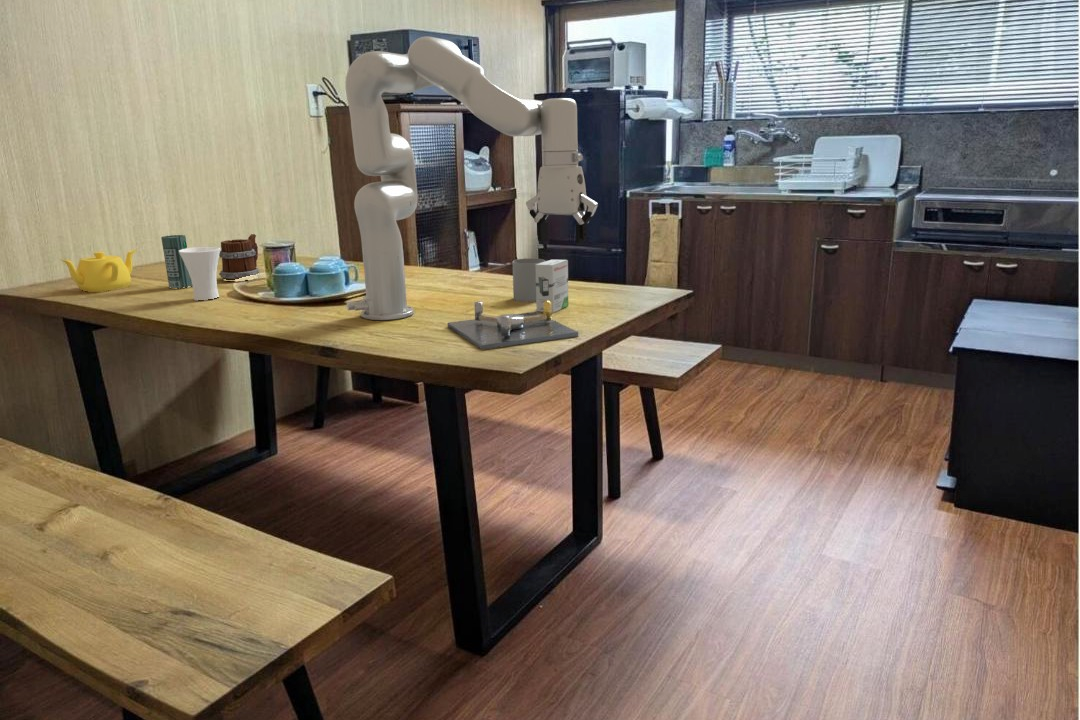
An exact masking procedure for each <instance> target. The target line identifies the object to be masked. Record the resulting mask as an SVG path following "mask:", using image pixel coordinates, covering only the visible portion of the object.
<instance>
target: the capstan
mask: <svg viewBox="0 0 1080 720" xmlns="http://www.w3.org/2000/svg"><path fill="white" fill-rule="evenodd" d="M473 305H474V319H475V320H477V321H481V320H484V321H491V322H497V327H498V328H501V335H502V336H509V335H510V331H511V329H518V328H522V327H524V323H526V322H534V321H542V320H545V321H550V320H553V318H552V314H553V313H552V310H551V302H550V301H545V302H543V311H544V312H543V314H541V315H534V316H526V317H524V316H523V315H520V314H521V313H506V314H505V313H503V314H500V315H491V314H484V311H483V310H484V309H483V307H484V306H483V301H474V304H473Z"/></svg>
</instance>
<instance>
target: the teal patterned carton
mask: <svg viewBox="0 0 1080 720" xmlns="http://www.w3.org/2000/svg"><path fill="white" fill-rule="evenodd" d="M161 244H162V251H163V256H164V262H165V269H166V276H167V282H168V283H167V284H168V288H169V287H171V288H183V287H188V286H192V281H191V278H190V275H189V272H188V270H187V268H186V265H185V263H184V261H183V259H182V257H181V255H180V253H179V250H182V249H186V248H188V245H187V238H186V235H184V234H172V235H165V236H164V235H163V236H161ZM192 287H193V286H192Z"/></svg>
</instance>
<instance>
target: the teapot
mask: <svg viewBox="0 0 1080 720" xmlns="http://www.w3.org/2000/svg"><path fill="white" fill-rule="evenodd" d="M136 251H137V249H133V250H130V251H127V253H126V256H125V262H124V260H123V259H122V257H120V256H119V255H118V256H117V255H106V253H105V251H95V252H93V255H94V256H90V257H84V258H80V259H79V261H78V264H77V268H76V266H75V265H74V262H73V261H71V260H69V259H60V261H61V262H63V263H64V264H66V266H67V268H68V272H69V275H70V277H71V279H72V280H73V282H75V283H76V286H77V287H78V289H80V290H81V291H82V290H83V291H82V292H85V291H88V292H87V293H91V292H96V293H102V292H101V291H106V292H109V291H108V290H113V289H118V288H123V287H126V286H129V285H130V286H131V283H132V277H131V274H132V272H133V268H134V267H133V255H134V253H136ZM130 286H129V287H130ZM123 289H124V288H123ZM118 290H119V289H118ZM113 291H114V290H113Z"/></svg>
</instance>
